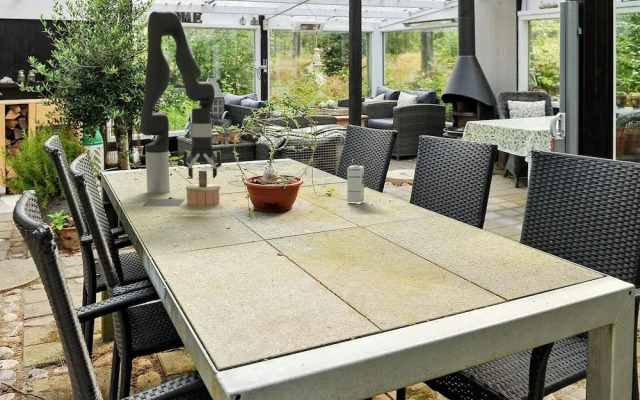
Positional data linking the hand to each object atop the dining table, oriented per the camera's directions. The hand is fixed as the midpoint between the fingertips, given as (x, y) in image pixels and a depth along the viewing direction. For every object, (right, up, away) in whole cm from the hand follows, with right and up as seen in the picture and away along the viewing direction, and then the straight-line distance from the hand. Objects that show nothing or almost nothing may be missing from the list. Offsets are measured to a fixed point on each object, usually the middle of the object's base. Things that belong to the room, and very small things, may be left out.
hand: (202, 177), depth 247 cm
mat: (-15, -10, +1) cm, 18 cm away
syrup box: (+59, -10, +7) cm, 60 cm away
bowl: (0, -10, +2) cm, 10 cm away
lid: (0, -4, +1) cm, 4 cm away
